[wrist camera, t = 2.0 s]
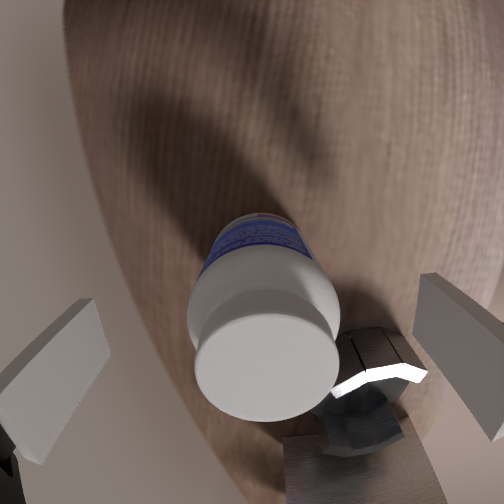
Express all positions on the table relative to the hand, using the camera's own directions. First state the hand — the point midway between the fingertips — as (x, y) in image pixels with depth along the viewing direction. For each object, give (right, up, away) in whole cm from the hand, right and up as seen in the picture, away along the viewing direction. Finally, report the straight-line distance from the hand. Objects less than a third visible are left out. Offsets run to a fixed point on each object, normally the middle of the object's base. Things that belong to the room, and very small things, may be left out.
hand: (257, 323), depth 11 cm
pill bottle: (0, +2, +6) cm, 6 cm away
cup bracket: (+7, -8, +9) cm, 14 cm away
